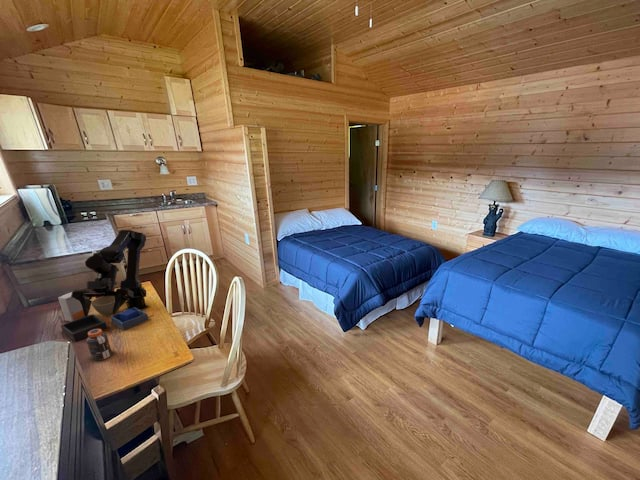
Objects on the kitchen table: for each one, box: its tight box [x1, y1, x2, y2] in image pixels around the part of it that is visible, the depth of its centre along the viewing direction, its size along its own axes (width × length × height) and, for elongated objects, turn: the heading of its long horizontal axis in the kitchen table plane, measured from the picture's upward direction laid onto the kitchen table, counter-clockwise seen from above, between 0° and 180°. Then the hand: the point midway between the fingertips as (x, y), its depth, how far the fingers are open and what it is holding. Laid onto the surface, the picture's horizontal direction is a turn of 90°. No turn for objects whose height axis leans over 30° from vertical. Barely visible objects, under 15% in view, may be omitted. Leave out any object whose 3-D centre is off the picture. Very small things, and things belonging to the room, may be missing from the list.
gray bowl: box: [91, 296, 115, 317], centre depth 141 cm, size 10×10×7 cm
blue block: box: [119, 309, 138, 322], centre depth 136 cm, size 4×4×4 cm
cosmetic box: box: [57, 291, 86, 322], centre depth 134 cm, size 6×4×12 cm
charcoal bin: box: [60, 313, 108, 342], centre depth 128 cm, size 11×11×4 cm
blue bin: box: [109, 307, 149, 331], centre depth 137 cm, size 10×10×4 cm
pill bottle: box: [85, 329, 113, 361], centre depth 113 cm, size 6×6×11 cm
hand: (99, 315), depth 117 cm, fingers open, 9 cm apart
